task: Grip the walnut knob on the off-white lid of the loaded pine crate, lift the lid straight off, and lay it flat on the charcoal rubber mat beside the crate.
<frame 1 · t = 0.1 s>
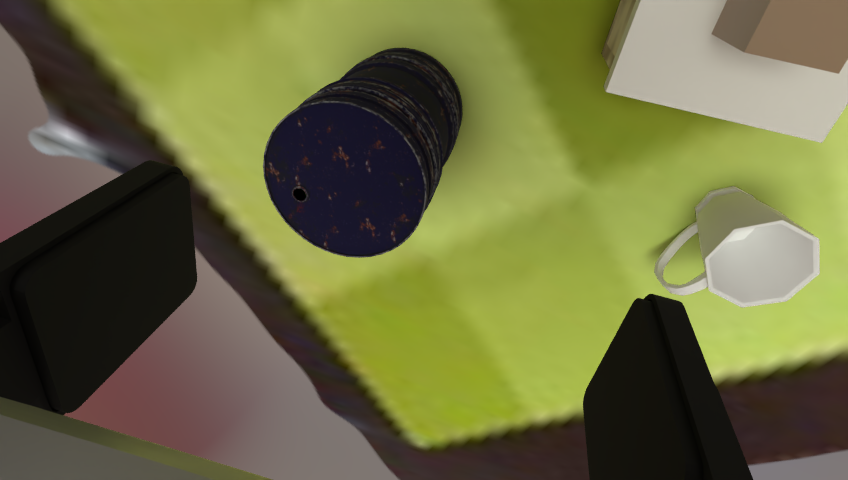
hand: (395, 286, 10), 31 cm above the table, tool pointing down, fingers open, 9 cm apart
cup: (705, 219, 41), on the table
storage jar: (404, 109, 41), on the table
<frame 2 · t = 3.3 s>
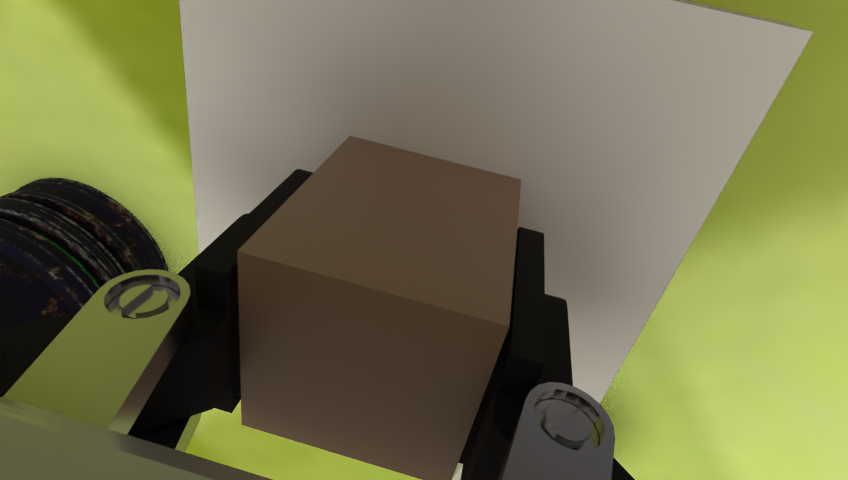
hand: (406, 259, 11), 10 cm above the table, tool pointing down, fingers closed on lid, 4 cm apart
lid: (428, 209, 13), point 8 cm above the table, touching crate, gripper
storage jar: (94, 253, 29), on the table
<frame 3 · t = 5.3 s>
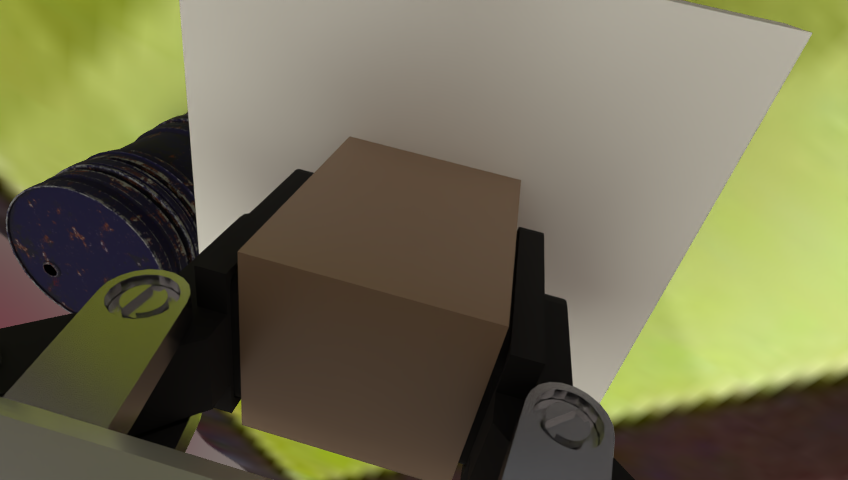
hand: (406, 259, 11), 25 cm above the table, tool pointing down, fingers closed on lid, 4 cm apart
lid: (428, 209, 13), point 22 cm above the table, touching gripper
storage jar: (228, 163, 41), on the table
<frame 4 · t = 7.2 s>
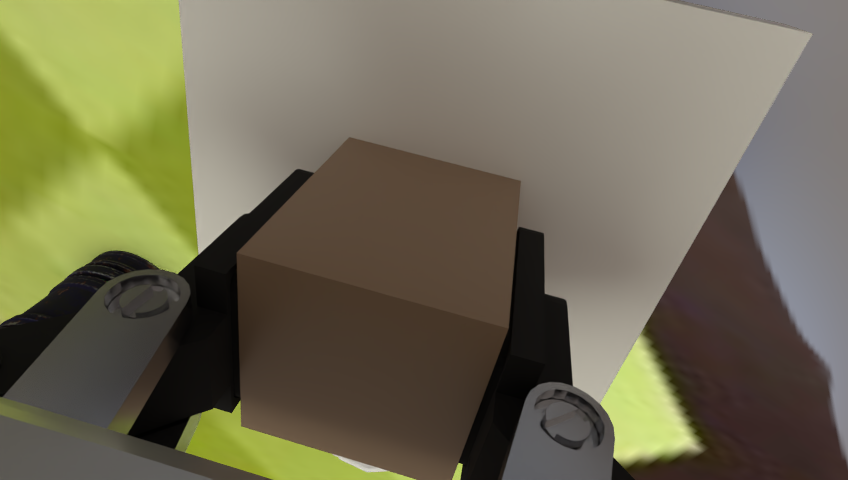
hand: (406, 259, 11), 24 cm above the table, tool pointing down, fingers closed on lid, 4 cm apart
lid: (427, 210, 13), point 22 cm above the table, touching gripper
storage jar: (137, 290, 50), on the table
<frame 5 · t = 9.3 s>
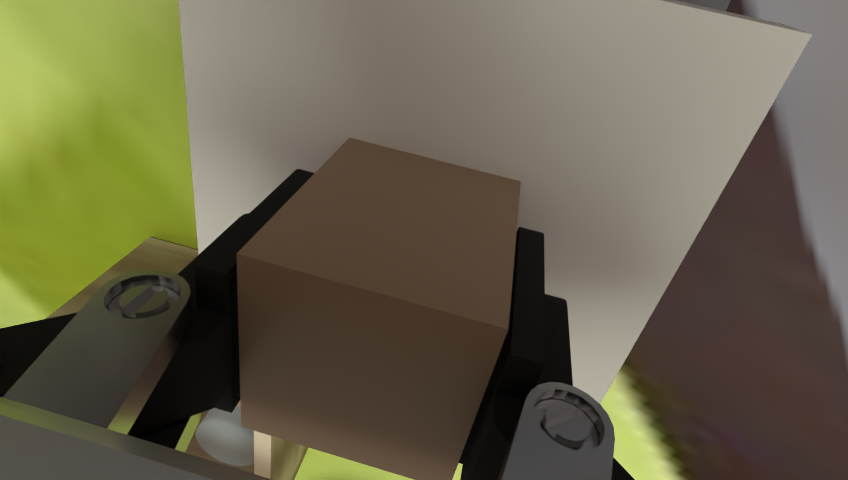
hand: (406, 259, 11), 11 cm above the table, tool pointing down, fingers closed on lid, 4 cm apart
lid: (427, 210, 13), point 9 cm above the table, touching gripper
crate: (244, 333, 31), on the table
mat: (463, 104, 21), on the table
when the fingers open (4 cm above the table, at t = 11.1 s): lid drops 2 cm, resting on mat.
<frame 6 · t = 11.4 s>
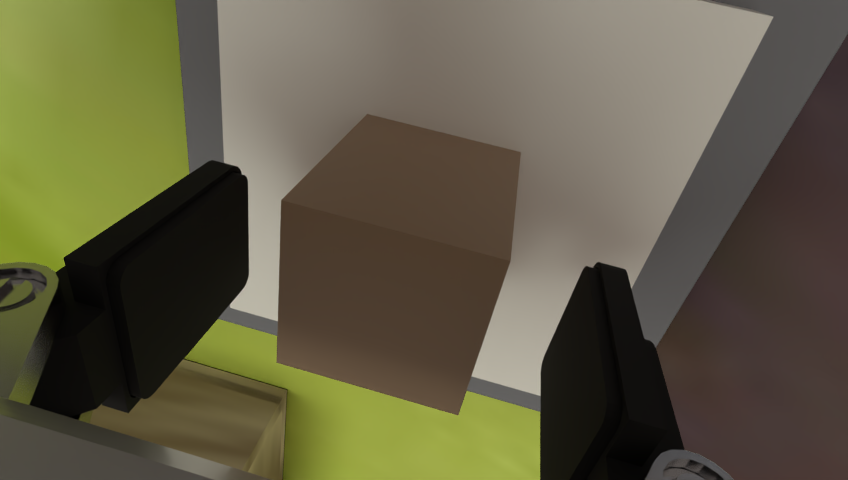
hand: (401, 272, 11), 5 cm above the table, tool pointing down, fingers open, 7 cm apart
lid: (436, 183, 15), resting on mat
crate: (179, 431, 25), on the table
mat: (440, 179, 15), on the table
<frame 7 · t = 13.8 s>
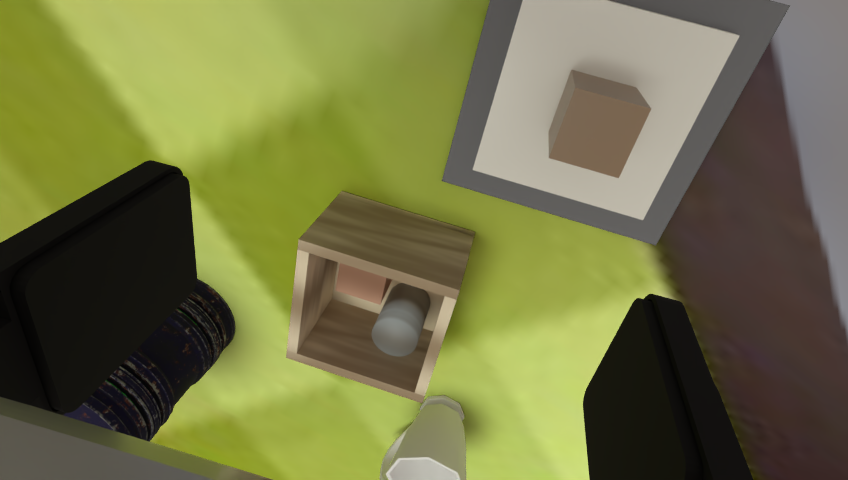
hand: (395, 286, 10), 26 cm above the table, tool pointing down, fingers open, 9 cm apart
lid: (589, 105, 32), resting on mat
cup: (431, 414, 50), on the table
crate: (394, 267, 42), on the table
storage jar: (192, 312, 50), on the table
mat: (589, 104, 32), on the table
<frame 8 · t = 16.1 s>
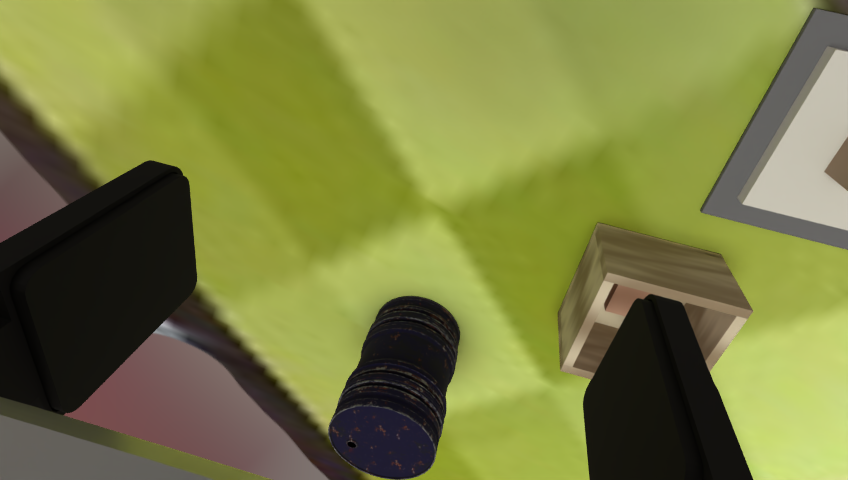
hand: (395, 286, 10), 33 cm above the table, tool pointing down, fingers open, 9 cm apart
crate: (633, 286, 47), on the table
storage jar: (417, 329, 56), on the table
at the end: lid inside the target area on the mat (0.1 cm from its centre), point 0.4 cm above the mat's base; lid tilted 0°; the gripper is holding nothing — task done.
